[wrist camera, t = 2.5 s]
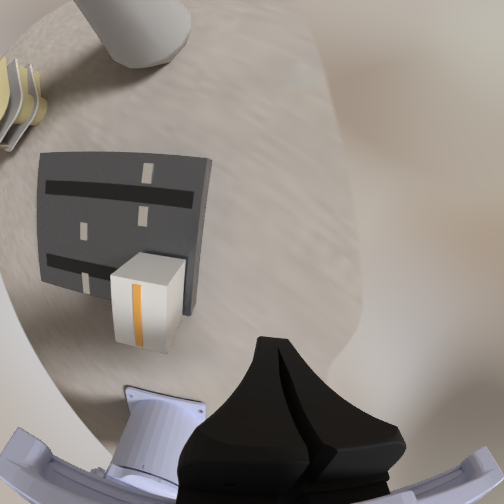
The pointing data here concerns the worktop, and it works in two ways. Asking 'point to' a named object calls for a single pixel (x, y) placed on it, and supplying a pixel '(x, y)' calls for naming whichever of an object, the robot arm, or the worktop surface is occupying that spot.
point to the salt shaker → (139, 29)
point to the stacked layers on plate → (18, 102)
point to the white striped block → (148, 301)
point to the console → (118, 216)
